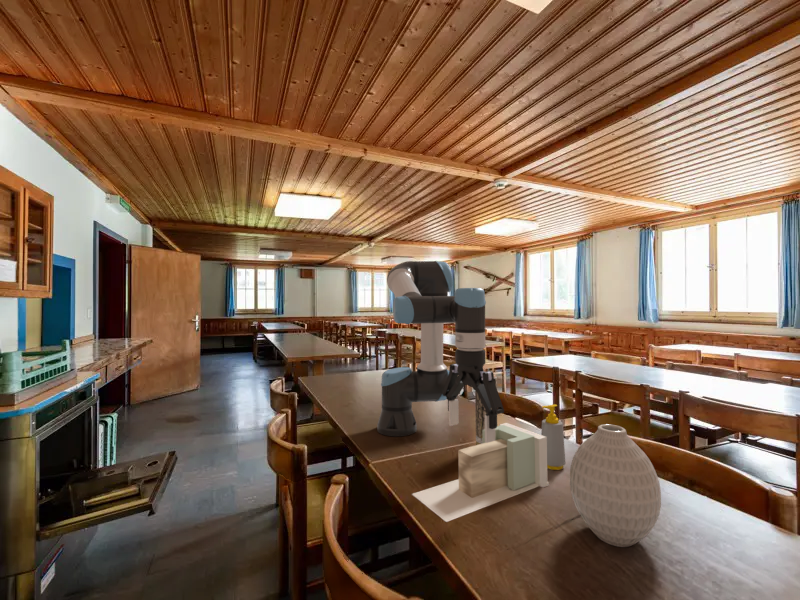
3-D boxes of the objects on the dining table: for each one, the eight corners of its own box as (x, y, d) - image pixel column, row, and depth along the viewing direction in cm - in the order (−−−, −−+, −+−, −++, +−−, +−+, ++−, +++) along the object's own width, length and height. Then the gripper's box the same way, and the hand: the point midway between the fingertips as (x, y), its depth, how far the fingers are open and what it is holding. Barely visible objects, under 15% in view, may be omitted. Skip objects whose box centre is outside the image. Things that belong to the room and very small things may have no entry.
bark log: (498, 458, 115) (497, 378, 115) (476, 457, 116) (474, 377, 116) (497, 450, 121) (496, 373, 122) (476, 448, 123) (475, 373, 123)
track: (411, 497, 92) (411, 445, 92) (508, 465, 110) (507, 422, 110) (446, 525, 80) (445, 466, 80) (548, 485, 98) (548, 436, 98)
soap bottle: (535, 463, 111) (534, 403, 112) (553, 459, 114) (552, 401, 114) (551, 472, 105) (550, 409, 105) (571, 468, 107) (570, 406, 107)
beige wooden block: (458, 489, 94) (458, 450, 94) (501, 475, 102) (500, 438, 102) (472, 498, 90) (471, 456, 90) (515, 482, 98) (514, 444, 98)
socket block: (482, 473, 102) (482, 429, 103) (503, 466, 107) (503, 424, 107) (513, 490, 93) (512, 442, 93) (535, 482, 97) (534, 436, 97)
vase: (596, 506, 87) (595, 411, 88) (677, 543, 74) (675, 431, 74) (554, 529, 78) (552, 424, 79) (636, 576, 65) (634, 448, 65)
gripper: (429, 344, 102) (430, 421, 103) (495, 356, 81) (496, 453, 81) (450, 342, 106) (451, 416, 106) (519, 353, 85) (519, 445, 85)
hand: (470, 432), depth 94 cm, fingers open, 13 cm apart
